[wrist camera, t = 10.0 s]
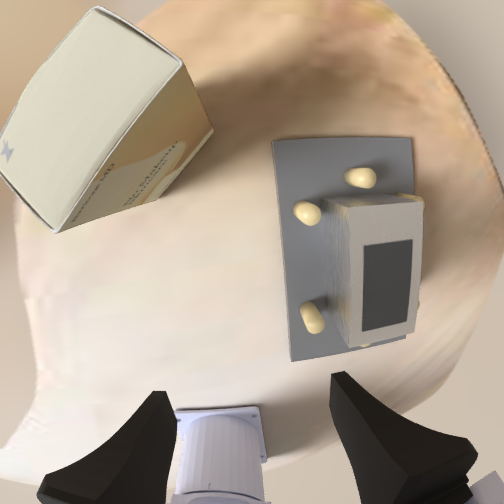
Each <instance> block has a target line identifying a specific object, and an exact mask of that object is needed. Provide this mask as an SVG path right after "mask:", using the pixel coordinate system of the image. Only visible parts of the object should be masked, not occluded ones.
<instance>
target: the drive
mask: <svg viewBox="0 0 504 504" xmlns="http://www.w3.org/2000/svg"><path fill="white" fill-rule="evenodd" d="M321 203H322V217H323V231H324V249H325V271H326V306H327V312H328V314H329V316H330V317H331V319H332V321H333V322H334V324H335V326H336V327H337V329H338V331H339V332H340V334H341V336H342V337H343V339H344V341H345V342H346V344H347V346H348V347H349V348H352V347H357V346H361V345H366V344H370V343H374V342H378V341H383V340H387V339H391V338H394V337H398V336H402V335H406V334H409V333H413V332H414V330H415V323H416V316H417V308H418V299H419V290H420V278H421V264H422V244H423V202H422V201H418V200H413V199H408V198H404V197H399V196H394V195H389V194H384V193H379V194H366V195H353V196H341V197H329V198H321Z"/></svg>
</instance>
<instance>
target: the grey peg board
mask: <svg viewBox="0 0 504 504" xmlns="http://www.w3.org/2000/svg"><path fill="white" fill-rule="evenodd" d="M271 144H272V153H273V162H274V171H275V181H276V190H277V200H278V210H279V221H280V232H281V243H282V254H283V266H284V278H285V291H286V304H287V319H288V333H289V349H290V358H291V362H295V361H301V360H307V359H313V358H319V357H325V356H330V355H335V354H341V353H345V352H350V351H355V350H360V349H364V348H369V347H373V346H377V345H381V344H386V343H390V342H394V341H397V340H401V339H405V338H406V335H402V336H398V337H394V338H391V339H387V340H383V341H378V342H374V343H370V344H366V345H361V346H357V347H352V348H349V347H348V346H347V344H346V342H345V341H344V339H343V337H342V336H341V334H340V332H339V331H338V329H337V327H336V326H335V324H334V322H333V321H332V319H331V317H330V316H329V314H328V312H327V306H326V271H325V249H324V231H323V217H322V203H321V198H329V197H341V196H353V195H366V194H379V193H384V194H389V195H394V196H399V197H404V198H408V199H413V200H418V201H422V202H423V211H424V209H425V202H424V200H423V198H422V197H419V196H415V194H414V173H413V159H412V147H411V138H388V137H337V138H310V139H293V140H279V141H272V142H271ZM419 305H420V303H419V300H418V308H419ZM418 308H417V310H418Z"/></svg>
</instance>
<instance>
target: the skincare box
mask: <svg viewBox="0 0 504 504" xmlns="http://www.w3.org/2000/svg"><path fill="white" fill-rule="evenodd" d="M213 133H214V129H213V127H212V125H211V123H210V120H209V118H208V116H207V113H206V111H205V109H204V107H203V105H202V102H201V100H200V98H199V95H198V93H197V91H196V89H195V87H194V84H193V82H192V80H191V78H190V76H189V74H188V71H187V69H186V66H185V64H184V62H183V61H182V59H181V58H179V57H178V56H176V55H175V54H174V53H172V52H171V51H169V50H168V49H167V48H166V47H164V46H163V45H162V44H160V43H159V42H158V41H156V40H155V39H154V38H152V37H151V36H149V35H148V34H146V33H145V32H144V31H142V30H141V29H139V28H138V27H136V26H134V25H133V24H131V23H130V22H128V21H127V20H125V19H124V18H122V17H120V16H118V15H117V14H115V13H113V12H111V11H110V10H108V9H106V8H104V7H102V6H95V7H94V8H92V9H90V10H89V11H88V12H87V13H86V14H85V16H84V17H83V18H82V19H81V20H80V21H79V22H78V23H77V24H76V25H75V26H74V27H73V29H72V30H71V31H70V32H69V33H68V34H67V36H66V37H65V38H64V39H63V40H62V41H61V42H60V43H59V45H58V46H57V47H56V49H55V50H54V51H53V52H52V54H51V55H50V56H49V57H48V58H47V60H46V61H45V62H44V63H43V65H42V66H41V67H40V68H39V69H38V71H37V72H36V73H35V75H34V76H33V78H32V79H31V80H30V82H29V83H28V85H27V87H26V88H25V90H24V92H23V94H22V95H21V97H20V99H19V101H18V103H17V104H16V106H15V108H14V110H13V111H12V113H11V115H10V117H9V118H8V120H7V122H6V124H5V126H4V128H3V129H2V132H1V134H0V176H1V177H2V178H3V179H4V181H5V182H6V183H7V184H8V186H9V187H10V188H11V189H12V190H13V192H14V193H15V194H16V195H17V196H18V198H19V199H20V200H21V201H22V202H23V203H24V204H25V206H26V207H27V208H28V209H29V210H30V211H31V212H32V213H33V214H34V215H35V216H36V217H37V218H38V219H39V220H40V221H42V222H43V223H44V224H45V225H46V226H47V227H48V229H49V230H51V231H52V232H53V233H54V234H57V233H60V232H62V231H65V230H67V229H70V228H73V227H75V226H78V225H81V224H84V223H87V222H89V221H92V220H95V219H98V218H101V217H105V216H108V215H110V214H113V213H116V212H120V211H123V210H126V209H129V208H132V207H136V206H139V205H142V204H146V203H149V202H152V201H156V200H157V199H158V198H159V197H160V196H161V195H162V193H163V192H164V191H165V190H166V189H167V188H168V186H169V185H170V184H171V183H172V182H173V181H174V179H175V178H176V177H177V176H178V175H179V174H180V172H181V171H182V170H183V169H184V168H185V167H186V165H187V164H188V163H189V162H190V161H191V159H192V158H193V157H194V156H195V154H196V153H197V152H198V151H199V150H200V148H201V147H202V146H203V145H204V144H205V142H206V141H207V140H208V139H209V138H210V136H211V135H212V134H213Z"/></svg>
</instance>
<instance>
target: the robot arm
mask: <svg viewBox="0 0 504 504" xmlns="http://www.w3.org/2000/svg"><path fill="white" fill-rule="evenodd" d="M329 406H330V410H331V414H332V418H333V421H334V425H335V427H336V430H337V432H338V434H339V437H340V439H341V441H342V444H343V446H344V448H345V451H346V453H347V455H348V458H349V460H350V463H351V466H352V468H353V472H354V476H355V479H356V483H357V487H358V491H359V495H360V499H361V504H504V483H503V481H502V480H501V478H500V477H499V476H498V474H497V472H496V471H493V472H491V473H490V474H488V475H487V476H485V477H484V478H482V479H481V480H479V481H478V482H476V483H475V484H473V485H472V486H471V487H470V488H469V487H468V485H467V484H466V483H468V481H469V479H468V478H467V476H466V474H467V472H468V471H469V470H470V468H471V467H472V466H473V464H474V463H475V461H476V460H477V457H478V453H477V451H476V450H475V448H474V447H473V445H472V444H471V443H470V441H469V440H468V439H467V438H462V437H457V436H453V435H448V434H444V433H441V432H437V431H434V430H431V429H429V428H426V427H424V426H421V425H419V424H417V423H414V422H412V421H410V420H408V419H406V418H404V417H403V416H401V415H399V414H397V413H396V412H394V411H393V410H391V409H390V408H388V407H387V406H385V405H384V404H382V403H381V402H380V401H379V400H377V399H376V398H375V397H373V396H372V395H371V394H370V393H369V392H367V391H366V390H365V389H364V388H363V387H362V386H360V385H359V384H358V383H357V382H356V381H355V380H354V379H353V378H352V377H351V376H350V375H349V374H348V373H347V372H345V371H342V372H337V373H333V374H331V386H330V403H329ZM254 414H256V415H254ZM177 429H178V431H179V434H180V436H181V438H182V440H183V444H182V451H181V457H180V463H179V469H178V476H177V483H176V489H175V494H172V496H171V502H170V504H271V502H265V500H264V489H263V477H262V466H261V463H266V462H267V456H266V450H265V443H264V437H263V430H262V424H261V417H260V411H259V408H258V407H256V406H252V407H241V408H229V409H214V410H187V411H173V409H172V406H171V404H170V401H169V398H168V396H167V393H166V391H153V392H152V393H151V394H150V395H149V396H148V397H147V399H146V400H145V401H144V402H143V403H142V405H141V406H140V407H139V408H138V409H137V411H136V412H135V413H134V414H133V415H132V416H131V417H130V419H129V420H128V421H127V422H126V423H125V424H124V425H123V426H122V427H121V428H120V429H119V430H118V431H117V432H116V433H115V434H114V435H113V436H112V437H111V438H110V439H109V440H107V441H106V442H105V443H104V444H102V445H101V446H100V447H99V448H97V449H96V450H94V451H93V452H91V453H90V454H88V455H87V456H85V457H84V458H82V459H80V460H79V461H77V462H75V463H73V464H71V465H69V466H67V467H65V468H62V469H60V470H57V471H55V472H52V473H49V474H46V475H45V477H44V479H43V481H42V483H41V485H40V488H39V490H38V492H37V498H38V499H39V501H40V502H41V503H42V504H168V503H166V489H167V481H168V475H169V471H170V466H171V461H172V457H173V452H174V448H175V443H176V436H177Z"/></svg>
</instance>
